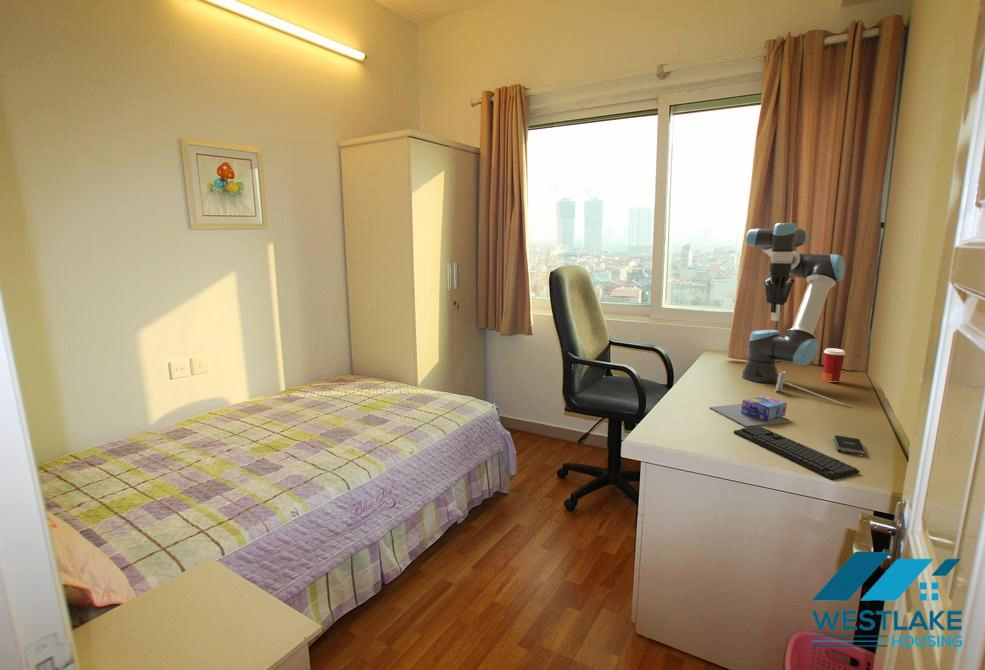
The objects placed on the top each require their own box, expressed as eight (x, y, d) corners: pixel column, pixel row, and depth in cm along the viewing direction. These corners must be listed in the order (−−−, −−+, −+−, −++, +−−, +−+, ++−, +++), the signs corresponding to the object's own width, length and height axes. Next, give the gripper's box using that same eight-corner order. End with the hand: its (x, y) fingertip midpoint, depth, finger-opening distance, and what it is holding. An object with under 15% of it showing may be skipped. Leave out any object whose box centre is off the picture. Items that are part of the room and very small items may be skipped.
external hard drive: (837, 453, 154) (838, 447, 153) (833, 440, 163) (834, 434, 163) (864, 457, 150) (865, 451, 150) (858, 444, 160) (859, 438, 160)
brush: (845, 421, 192) (852, 400, 188) (774, 392, 212) (779, 373, 208) (849, 417, 194) (856, 397, 191) (778, 390, 214) (783, 371, 211)
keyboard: (732, 434, 169) (733, 428, 169) (758, 430, 173) (758, 424, 172) (831, 482, 136) (832, 475, 136) (860, 475, 140) (861, 469, 139)
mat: (748, 404, 197) (748, 403, 196) (788, 422, 177) (789, 421, 177) (709, 408, 193) (709, 407, 192) (746, 427, 173) (746, 425, 173)
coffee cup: (841, 380, 228) (845, 349, 225) (842, 385, 221) (846, 352, 218) (819, 377, 232) (823, 347, 229) (819, 382, 226) (824, 350, 223)
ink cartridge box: (787, 402, 181) (761, 409, 175) (786, 416, 182) (760, 423, 176) (762, 394, 190) (737, 401, 184) (761, 407, 191) (736, 415, 185)
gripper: (787, 261, 201) (780, 318, 206) (760, 262, 199) (754, 319, 203) (802, 262, 194) (795, 321, 199) (774, 263, 191) (768, 322, 196)
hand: (774, 320), depth 201 cm, fingers closed
